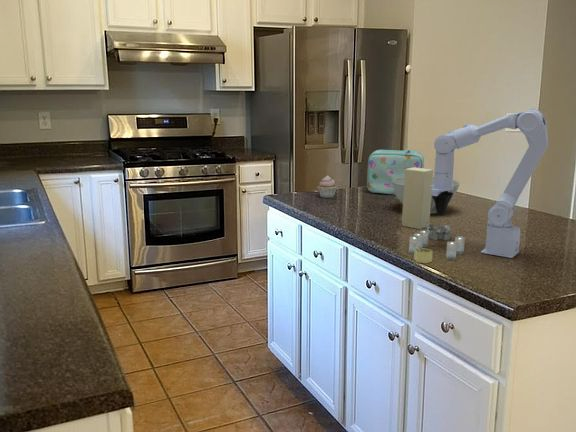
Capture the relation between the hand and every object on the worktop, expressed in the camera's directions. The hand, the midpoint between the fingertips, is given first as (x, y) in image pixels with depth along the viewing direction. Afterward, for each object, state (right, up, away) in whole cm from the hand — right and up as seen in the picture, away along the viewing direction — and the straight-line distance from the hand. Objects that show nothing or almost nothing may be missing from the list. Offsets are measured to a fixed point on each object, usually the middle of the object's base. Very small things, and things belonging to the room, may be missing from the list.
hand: (440, 214), depth 183 cm
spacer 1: (-10, -12, -7) cm, 17 cm away
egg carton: (+2, -8, +13) cm, 15 cm away
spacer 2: (-8, -11, -3) cm, 14 cm away
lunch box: (+2, +10, +87) cm, 88 cm away
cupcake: (-31, +8, +79) cm, 85 cm away
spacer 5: (+4, -12, -7) cm, 14 cm away
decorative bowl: (+7, +2, +52) cm, 52 cm away
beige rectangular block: (-2, -4, +26) cm, 27 cm away
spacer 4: (0, -13, -12) cm, 18 cm away
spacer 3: (-5, -10, +1) cm, 11 cm away
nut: (-9, -14, -14) cm, 22 cm away
